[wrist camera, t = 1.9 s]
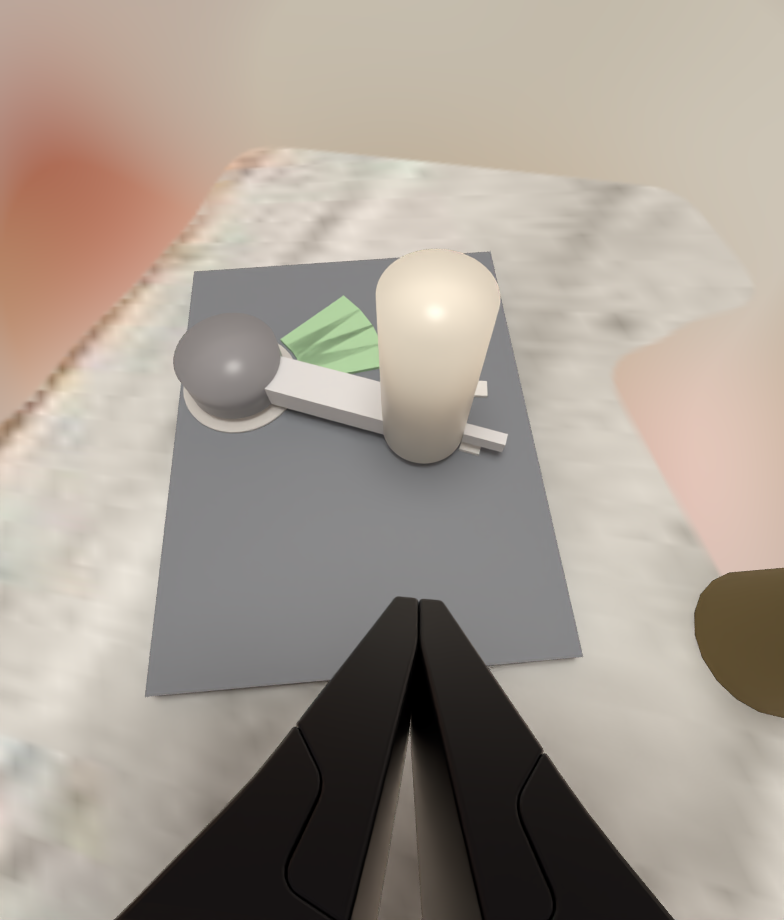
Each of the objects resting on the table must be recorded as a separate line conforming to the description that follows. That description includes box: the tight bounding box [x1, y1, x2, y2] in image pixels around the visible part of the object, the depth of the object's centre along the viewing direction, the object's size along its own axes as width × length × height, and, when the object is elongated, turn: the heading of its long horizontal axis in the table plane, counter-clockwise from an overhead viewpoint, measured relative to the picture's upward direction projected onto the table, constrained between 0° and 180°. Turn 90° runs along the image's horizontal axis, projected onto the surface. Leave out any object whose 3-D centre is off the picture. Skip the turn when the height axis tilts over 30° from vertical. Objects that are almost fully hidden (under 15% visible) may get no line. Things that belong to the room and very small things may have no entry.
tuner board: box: [145, 252, 583, 697], centre depth 24 cm, size 23×18×1 cm
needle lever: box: [173, 249, 508, 464], centre depth 20 cm, size 16×5×9 cm, turn 73°
